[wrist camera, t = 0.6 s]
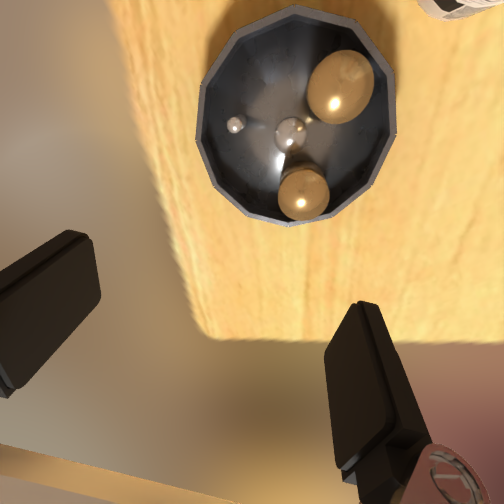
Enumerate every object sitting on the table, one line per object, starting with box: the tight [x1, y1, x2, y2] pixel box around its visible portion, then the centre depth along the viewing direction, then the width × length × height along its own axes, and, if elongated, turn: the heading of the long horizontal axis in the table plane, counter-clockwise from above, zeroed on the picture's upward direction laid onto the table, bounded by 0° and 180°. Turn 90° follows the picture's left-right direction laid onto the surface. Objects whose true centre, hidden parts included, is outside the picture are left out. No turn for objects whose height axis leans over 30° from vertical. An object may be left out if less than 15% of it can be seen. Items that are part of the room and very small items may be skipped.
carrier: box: [195, 4, 397, 227], centre depth 28 cm, size 20×20×6 cm
